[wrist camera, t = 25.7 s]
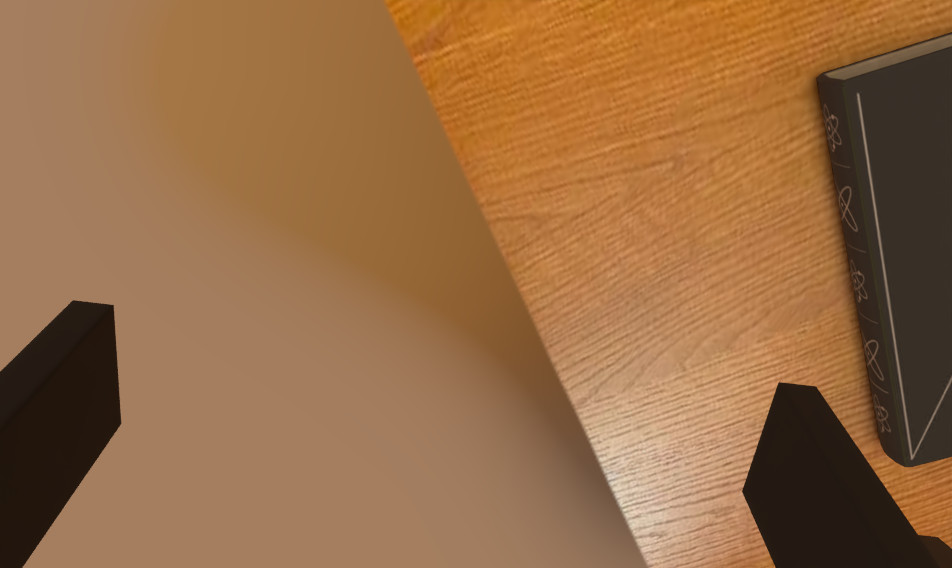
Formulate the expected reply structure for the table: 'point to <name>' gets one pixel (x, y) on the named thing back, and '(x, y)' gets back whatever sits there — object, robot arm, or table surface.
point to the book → (899, 234)
